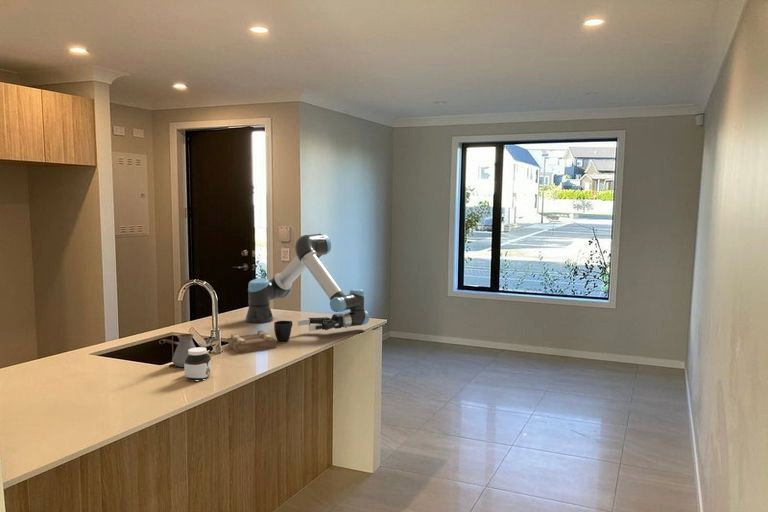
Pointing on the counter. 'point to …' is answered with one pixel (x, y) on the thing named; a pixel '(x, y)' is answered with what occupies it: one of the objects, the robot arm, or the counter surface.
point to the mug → (282, 330)
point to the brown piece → (251, 342)
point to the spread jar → (197, 364)
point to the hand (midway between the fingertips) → (303, 325)
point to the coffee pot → (181, 348)
